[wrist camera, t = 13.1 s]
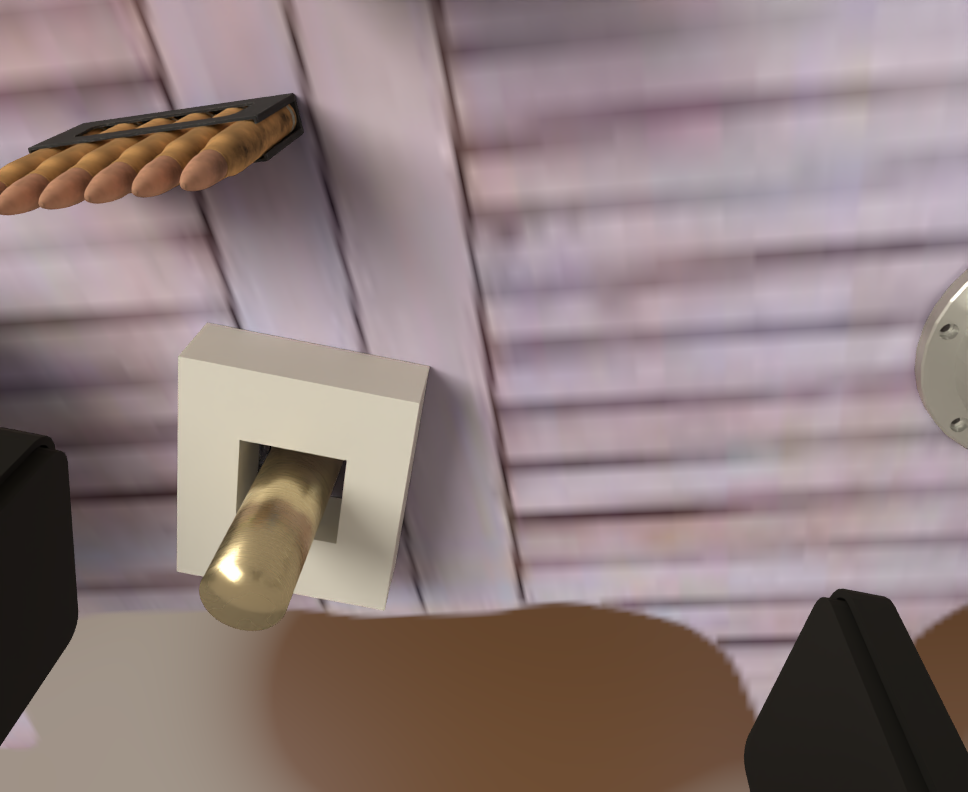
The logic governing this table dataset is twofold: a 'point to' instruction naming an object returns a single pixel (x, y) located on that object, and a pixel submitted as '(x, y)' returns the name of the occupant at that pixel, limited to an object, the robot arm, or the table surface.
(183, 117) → the ammunition clip
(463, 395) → the table surface
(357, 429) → the white square socket block
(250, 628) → the gold cylindrical peg
